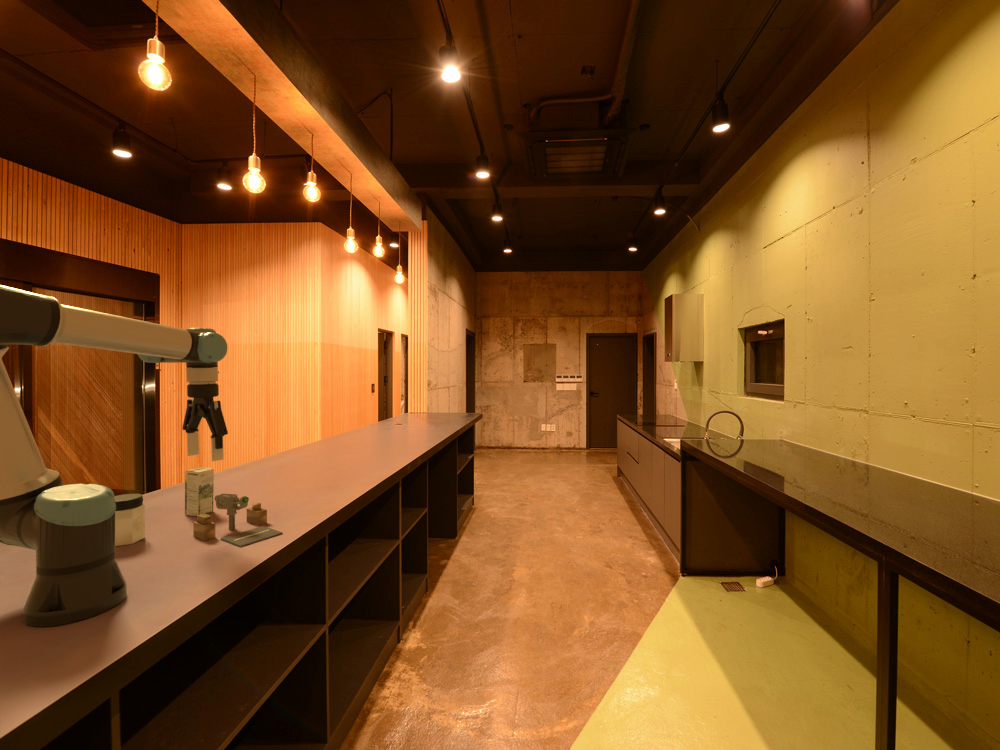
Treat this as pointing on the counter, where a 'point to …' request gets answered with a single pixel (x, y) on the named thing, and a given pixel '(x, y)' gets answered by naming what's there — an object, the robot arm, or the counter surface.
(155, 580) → the counter surface
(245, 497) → the mechanical component
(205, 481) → the syrup box
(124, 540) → the jar
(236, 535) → the mat
